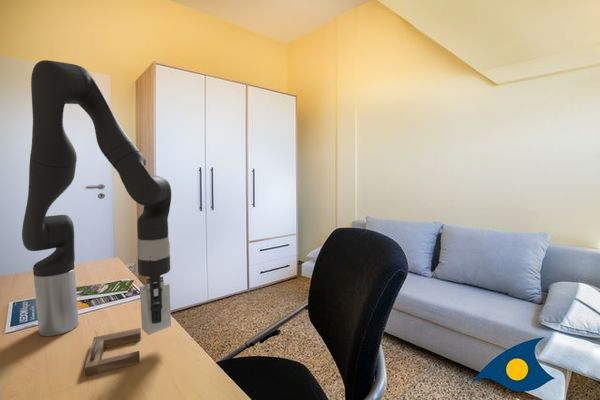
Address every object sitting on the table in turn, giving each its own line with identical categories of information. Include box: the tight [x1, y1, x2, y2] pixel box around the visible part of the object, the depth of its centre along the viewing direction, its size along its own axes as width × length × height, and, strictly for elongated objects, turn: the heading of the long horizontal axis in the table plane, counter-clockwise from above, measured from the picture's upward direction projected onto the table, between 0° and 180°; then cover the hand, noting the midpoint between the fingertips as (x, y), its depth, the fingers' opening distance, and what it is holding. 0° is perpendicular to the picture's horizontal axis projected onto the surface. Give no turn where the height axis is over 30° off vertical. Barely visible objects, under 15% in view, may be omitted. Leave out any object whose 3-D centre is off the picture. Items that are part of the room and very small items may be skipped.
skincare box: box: [139, 280, 172, 336], centre depth 80 cm, size 6×4×12 cm
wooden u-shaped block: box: [83, 327, 142, 377], centre depth 78 cm, size 14×11×3 cm
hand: (156, 316), depth 80 cm, fingers closed on skincare box, 5 cm apart
